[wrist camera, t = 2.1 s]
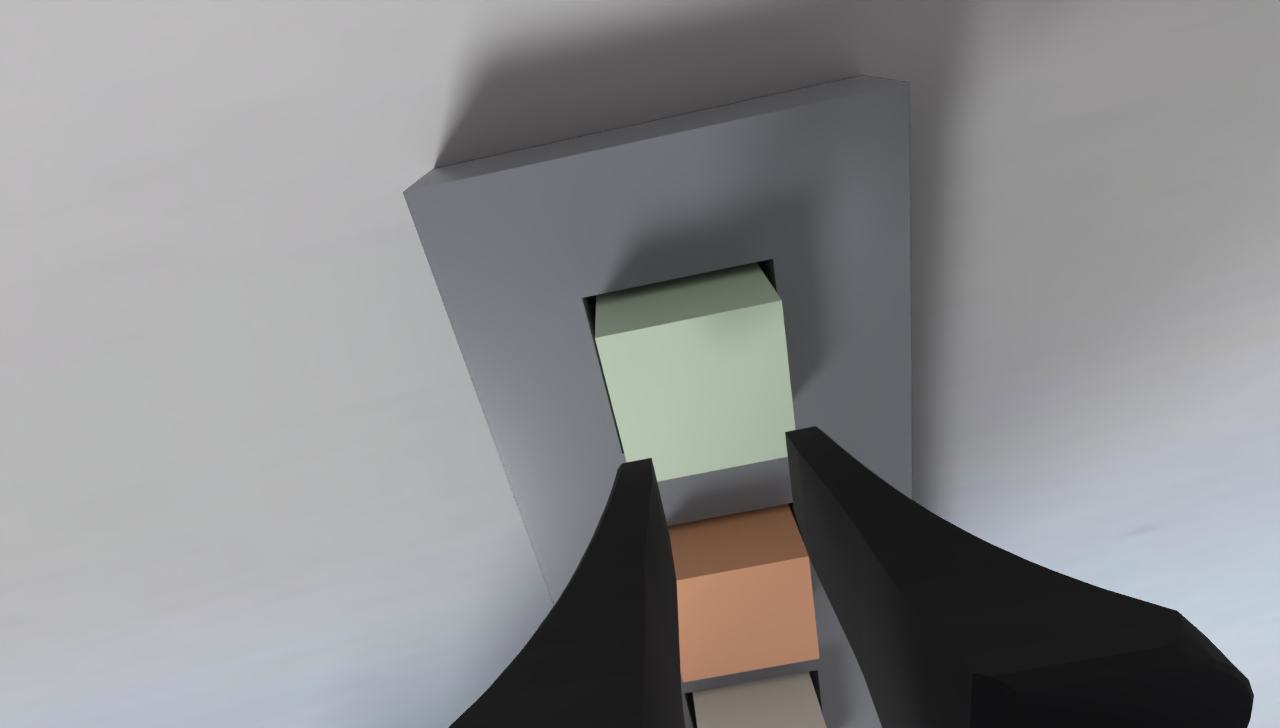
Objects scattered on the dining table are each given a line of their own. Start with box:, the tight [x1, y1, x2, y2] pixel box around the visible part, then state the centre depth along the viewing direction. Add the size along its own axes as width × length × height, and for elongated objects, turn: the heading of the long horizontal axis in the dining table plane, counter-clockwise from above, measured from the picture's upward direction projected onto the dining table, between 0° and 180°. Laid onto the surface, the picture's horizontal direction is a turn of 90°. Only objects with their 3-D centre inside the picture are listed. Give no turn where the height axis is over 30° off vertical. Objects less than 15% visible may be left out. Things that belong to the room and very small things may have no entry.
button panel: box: [403, 75, 912, 728], centre depth 23 cm, size 28×12×3 cm, turn 11°
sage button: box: [595, 262, 795, 482], centre depth 17 cm, size 4×4×3 cm
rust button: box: [668, 504, 819, 682], centre depth 21 cm, size 4×4×3 cm
